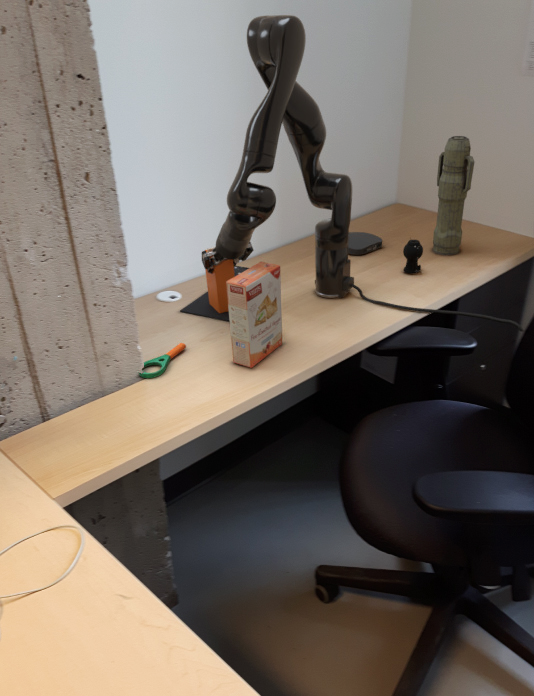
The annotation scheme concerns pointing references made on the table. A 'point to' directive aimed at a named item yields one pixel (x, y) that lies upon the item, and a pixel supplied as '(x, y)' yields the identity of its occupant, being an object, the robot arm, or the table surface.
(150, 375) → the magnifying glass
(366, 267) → the table surface
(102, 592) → the table surface
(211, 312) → the desk mat
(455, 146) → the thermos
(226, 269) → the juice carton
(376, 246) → the media streaming box
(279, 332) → the cracker box
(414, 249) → the gumball machine
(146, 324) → the table surface
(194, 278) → the table surface
